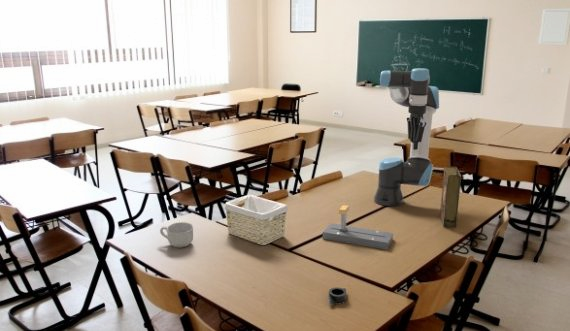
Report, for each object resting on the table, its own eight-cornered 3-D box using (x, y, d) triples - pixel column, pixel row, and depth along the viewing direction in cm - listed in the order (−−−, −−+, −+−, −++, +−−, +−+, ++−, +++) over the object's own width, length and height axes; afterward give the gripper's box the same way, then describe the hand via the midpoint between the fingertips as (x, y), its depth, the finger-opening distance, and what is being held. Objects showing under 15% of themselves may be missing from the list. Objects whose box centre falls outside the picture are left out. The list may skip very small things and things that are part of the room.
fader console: (392, 239, 204) (393, 232, 203) (387, 249, 194) (387, 242, 194) (330, 229, 215) (330, 223, 214) (322, 238, 205) (322, 231, 204)
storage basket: (224, 233, 211) (223, 201, 207) (249, 223, 222) (249, 193, 219) (263, 248, 195) (263, 214, 192) (288, 236, 207) (289, 204, 204)
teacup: (198, 241, 202) (197, 223, 200) (185, 251, 192) (184, 233, 190) (170, 237, 206) (169, 219, 204) (155, 247, 196) (154, 229, 194)
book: (439, 215, 233) (443, 165, 226) (451, 216, 232) (456, 166, 225) (443, 227, 217) (448, 175, 211) (456, 228, 216) (461, 175, 210)
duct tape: (318, 298, 158) (318, 290, 158) (343, 290, 163) (343, 283, 162) (331, 309, 152) (331, 301, 151) (356, 301, 156) (356, 293, 156)
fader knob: (348, 227, 208) (349, 205, 206) (344, 232, 203) (345, 210, 200) (342, 226, 210) (342, 204, 207) (337, 231, 204) (338, 209, 202)
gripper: (402, 102, 215) (398, 152, 221) (417, 107, 203) (413, 160, 209) (417, 101, 217) (413, 151, 223) (433, 106, 204) (428, 159, 211)
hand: (413, 155), depth 216 cm, fingers closed
